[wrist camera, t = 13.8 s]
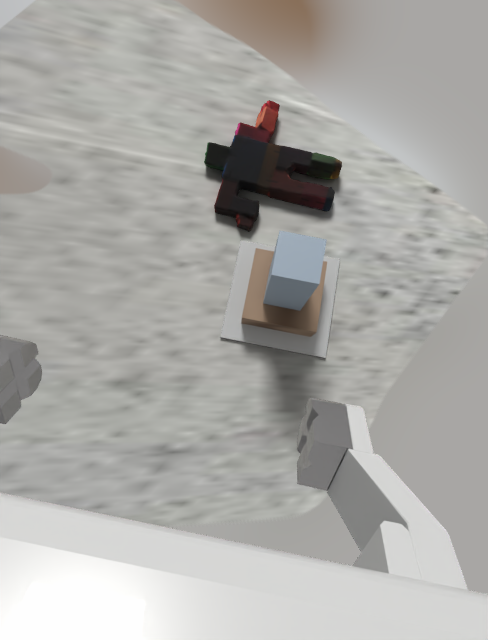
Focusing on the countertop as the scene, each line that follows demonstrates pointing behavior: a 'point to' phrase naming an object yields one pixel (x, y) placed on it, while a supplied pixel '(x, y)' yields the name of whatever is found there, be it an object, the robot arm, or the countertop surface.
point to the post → (294, 270)
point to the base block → (275, 315)
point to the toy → (267, 170)
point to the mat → (271, 337)
